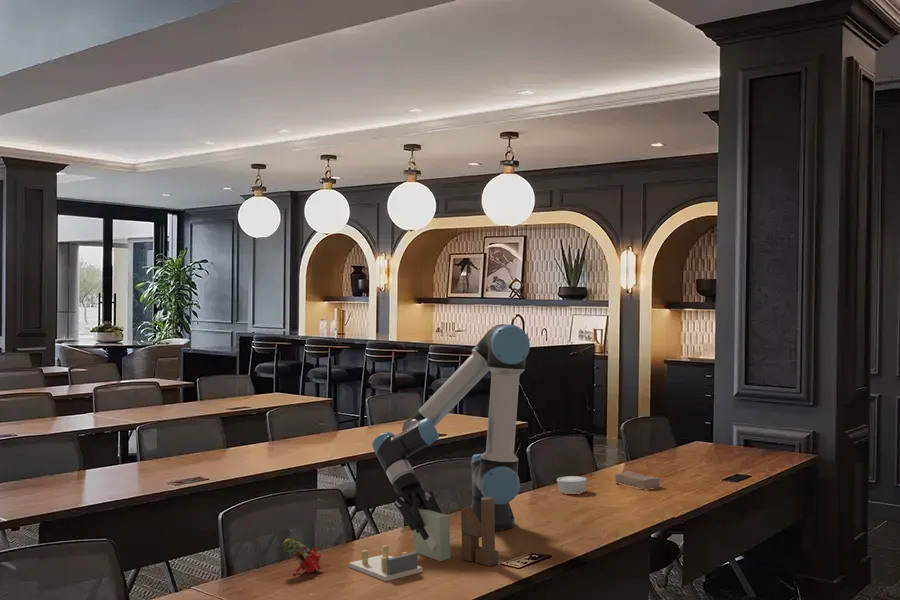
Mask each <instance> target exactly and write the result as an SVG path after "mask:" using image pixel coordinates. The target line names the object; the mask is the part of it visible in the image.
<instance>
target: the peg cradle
mask: <svg viewBox="0 0 900 600" xmlns="http://www.w3.org/2000/svg"><path fill="white" fill-rule="evenodd" d="M389 553H390V552H389V545H387V544H386V545H385V544H384V545H382V554H381V555H376V556H371V557H369V551H368V550H367V549H364V550H361V559H360V560H355V561H351V562H348V568H350V569H353V570H355V571H356V572H360V573H363V574H366V575H368V576H371V577H372V578H373V577H374V578H376V579H378V580H380V581H384V582H388V581H392V580H396V579H399V578H403V577H407V576H411V575H416V574H419V573H422V572H423V566H420V565H418V553H415V552H414V551H413V552H410V553H409V552H408V551H403V552H402V553H401V555H398V556H391V555H389Z"/></svg>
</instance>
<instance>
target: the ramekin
mask: <svg viewBox="0 0 900 600" xmlns="http://www.w3.org/2000/svg"><path fill="white" fill-rule="evenodd" d="M556 482H557V487H558V491H559V493H560V492H563V493H581V492H584V493H585V492H586V488H587V482H588V479H587V478H586V477H584V476H577V475H576V476H575V475H572V476H569V475H568V476H561V477H558V478H557V479H556Z"/></svg>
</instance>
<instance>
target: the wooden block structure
mask: <svg viewBox="0 0 900 600" xmlns="http://www.w3.org/2000/svg"><path fill="white" fill-rule="evenodd" d="M460 518H461V519H460V520H461V523H460V524H461V527H460V529H461V558H462V560H464V561H469V562H473V561H475V563H476V564H480V565H484V566H487V567H492V566H496V565H498V564H499V551H498V550H496V534H495V533H496V531H495V519H494V498H492V497H483V498H481V522H482V524H481V523H480V521H479V520H478V518H477V517H476V515H475V513H474V512H473V510H472V509H471V506H465V507H462V508H460ZM480 538H481V546H480Z"/></svg>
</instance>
